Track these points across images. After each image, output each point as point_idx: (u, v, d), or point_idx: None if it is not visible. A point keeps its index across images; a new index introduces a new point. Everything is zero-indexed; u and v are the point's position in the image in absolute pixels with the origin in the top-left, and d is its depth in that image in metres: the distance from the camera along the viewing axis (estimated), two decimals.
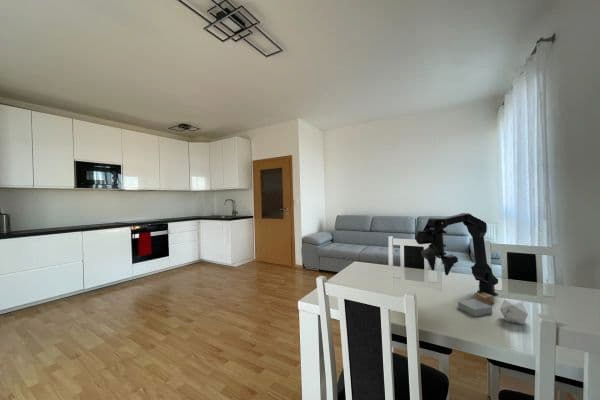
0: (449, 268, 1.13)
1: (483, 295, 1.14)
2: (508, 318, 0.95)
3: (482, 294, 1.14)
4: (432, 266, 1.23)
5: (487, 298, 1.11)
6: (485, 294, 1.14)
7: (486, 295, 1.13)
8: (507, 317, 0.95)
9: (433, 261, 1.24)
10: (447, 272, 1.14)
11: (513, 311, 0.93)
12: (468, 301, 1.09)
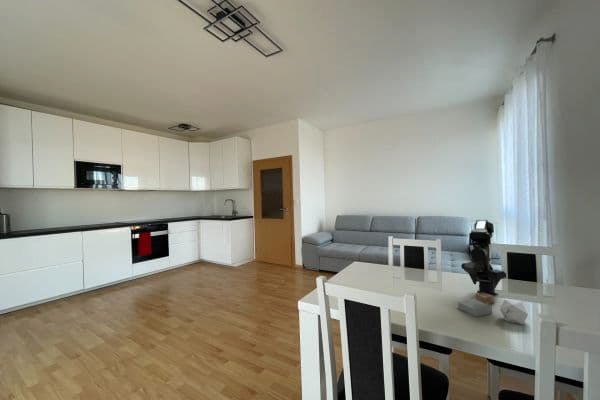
0: (496, 284, 1.08)
1: (483, 295, 1.14)
2: (508, 318, 0.95)
3: (482, 294, 1.14)
4: (474, 280, 1.18)
5: (487, 298, 1.11)
6: (485, 294, 1.14)
7: (486, 295, 1.13)
8: (507, 317, 0.95)
9: (475, 275, 1.19)
10: (493, 287, 1.09)
11: (513, 311, 0.93)
12: (468, 301, 1.09)
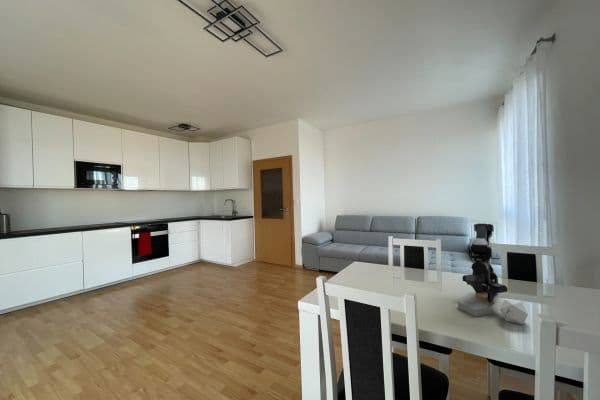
0: (493, 296, 1.10)
1: (483, 294, 1.14)
2: (508, 318, 0.95)
3: (482, 294, 1.14)
4: None
5: (487, 298, 1.11)
6: (485, 294, 1.14)
7: (485, 295, 1.13)
8: (507, 317, 0.95)
9: (480, 288, 1.17)
10: (491, 299, 1.10)
11: (513, 311, 0.93)
12: (468, 301, 1.09)
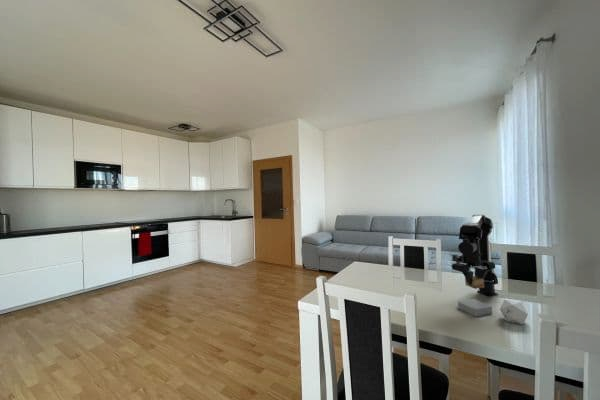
0: (469, 278, 1.07)
1: None
2: (508, 318, 0.95)
3: (474, 277, 1.09)
4: None
5: None
6: (475, 278, 1.08)
7: None
8: (507, 317, 0.95)
9: (481, 274, 1.08)
10: (468, 281, 1.08)
11: (513, 311, 0.93)
12: (468, 301, 1.09)
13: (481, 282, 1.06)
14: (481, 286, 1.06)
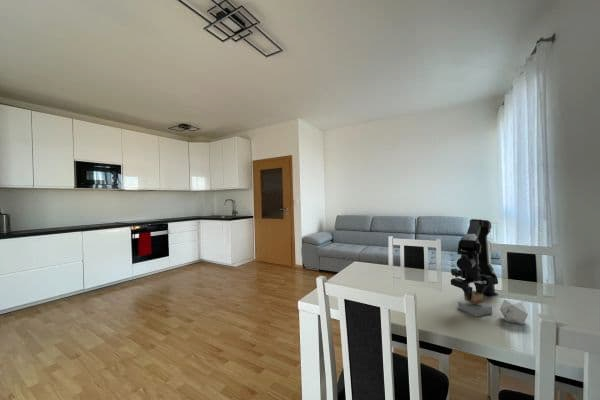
0: (468, 294, 1.05)
1: None
2: (508, 318, 0.95)
3: (473, 292, 1.07)
4: None
5: None
6: (475, 293, 1.06)
7: None
8: (507, 317, 0.95)
9: (480, 289, 1.06)
10: (467, 297, 1.06)
11: (513, 311, 0.93)
12: None
13: (480, 297, 1.05)
14: (480, 301, 1.05)
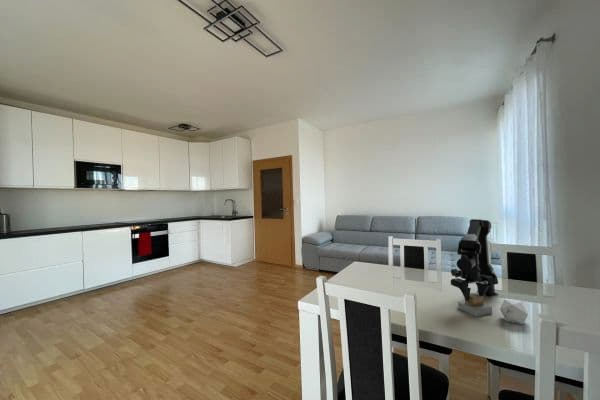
0: (466, 294, 1.05)
1: (472, 294, 1.07)
2: (508, 318, 0.95)
3: (473, 294, 1.07)
4: (479, 294, 1.08)
5: None
6: (475, 296, 1.06)
7: (470, 295, 1.07)
8: (507, 317, 0.95)
9: (482, 289, 1.07)
10: (465, 297, 1.06)
11: (513, 311, 0.93)
12: None
13: (480, 300, 1.05)
14: (480, 304, 1.05)
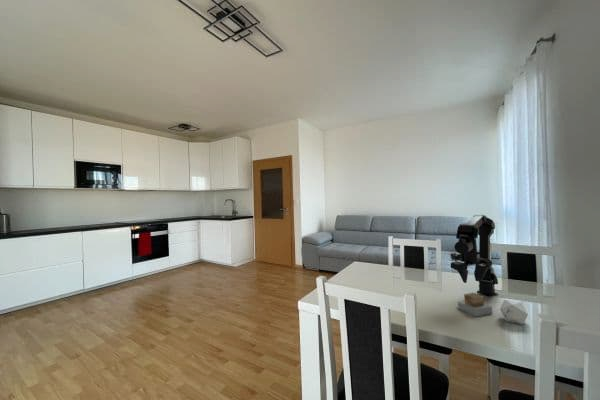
0: (464, 276, 1.10)
1: (472, 294, 1.07)
2: (508, 318, 0.95)
3: (473, 294, 1.07)
4: (479, 275, 1.13)
5: (466, 296, 1.07)
6: (475, 296, 1.06)
7: (470, 295, 1.07)
8: (507, 317, 0.95)
9: (481, 271, 1.12)
10: (463, 279, 1.11)
11: (513, 311, 0.93)
12: None
13: (480, 300, 1.05)
14: (480, 304, 1.05)
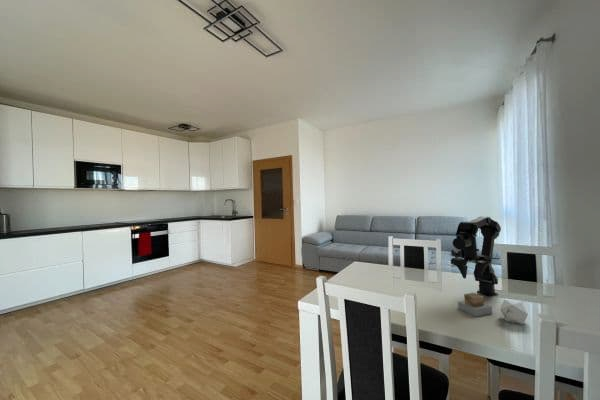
0: (463, 272, 1.14)
1: (472, 294, 1.07)
2: (508, 318, 0.95)
3: (473, 294, 1.07)
4: (478, 271, 1.17)
5: (466, 296, 1.07)
6: (475, 296, 1.06)
7: (470, 295, 1.07)
8: (507, 317, 0.95)
9: (481, 267, 1.16)
10: (463, 275, 1.15)
11: (513, 311, 0.93)
12: None
13: (480, 300, 1.05)
14: (480, 304, 1.05)
